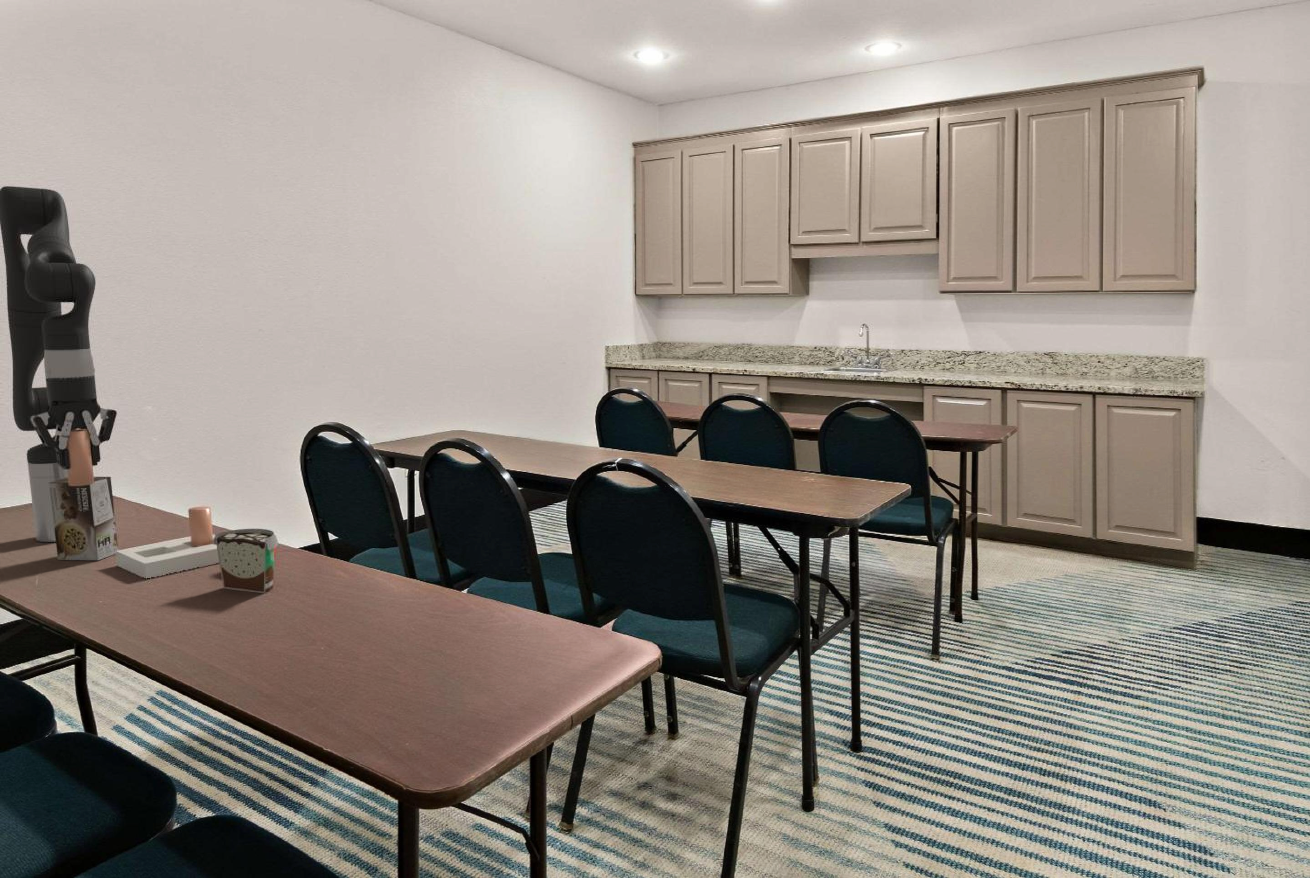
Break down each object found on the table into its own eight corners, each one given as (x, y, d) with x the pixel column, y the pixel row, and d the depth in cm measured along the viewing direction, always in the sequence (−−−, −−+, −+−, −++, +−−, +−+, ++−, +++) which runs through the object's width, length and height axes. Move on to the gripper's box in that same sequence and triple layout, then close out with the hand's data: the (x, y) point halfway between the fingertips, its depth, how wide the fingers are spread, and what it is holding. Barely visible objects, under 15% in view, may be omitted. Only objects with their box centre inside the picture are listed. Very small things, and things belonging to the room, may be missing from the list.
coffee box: (120, 552, 184) (112, 476, 182) (98, 561, 178) (89, 482, 176) (79, 551, 185) (71, 475, 183) (55, 560, 179) (47, 481, 176)
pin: (65, 484, 165) (59, 430, 163) (89, 480, 168) (84, 428, 166) (73, 486, 162) (67, 432, 161) (97, 483, 165) (92, 430, 164)
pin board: (117, 565, 175) (112, 516, 173) (210, 546, 189) (206, 500, 187) (146, 579, 166) (141, 526, 165) (241, 557, 180) (238, 509, 178)
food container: (296, 584, 163) (292, 530, 161) (271, 594, 157) (267, 539, 156) (242, 577, 167) (238, 525, 165) (217, 587, 161) (212, 533, 160)
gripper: (105, 371, 170) (113, 459, 172) (17, 375, 159) (27, 470, 162) (121, 372, 165) (129, 464, 168) (31, 377, 154) (41, 475, 157)
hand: (79, 466), depth 165 cm, fingers closed on pin, 4 cm apart
